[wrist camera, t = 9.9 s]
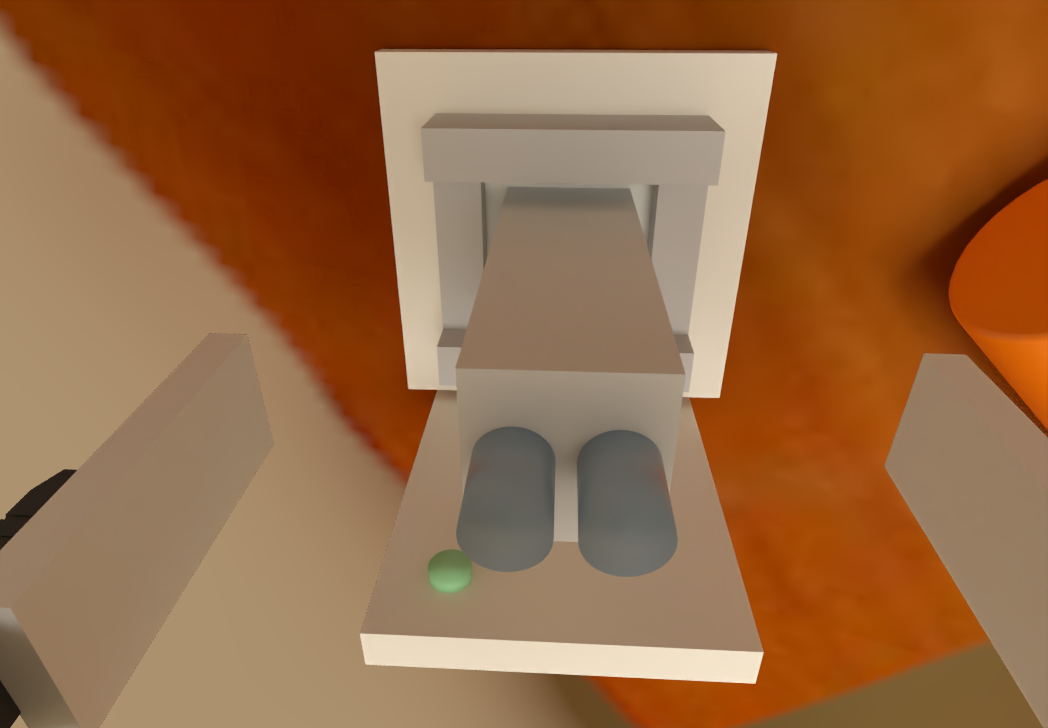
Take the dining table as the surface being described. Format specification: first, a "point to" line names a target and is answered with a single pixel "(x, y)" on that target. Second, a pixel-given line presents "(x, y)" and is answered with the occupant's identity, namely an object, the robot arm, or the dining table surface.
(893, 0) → the dining table surface
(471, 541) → the plug
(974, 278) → the shaker bottle
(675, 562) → the port
